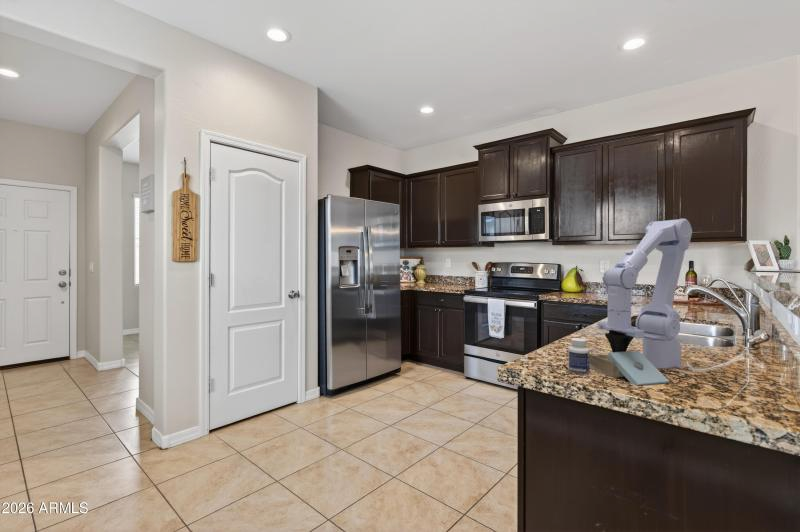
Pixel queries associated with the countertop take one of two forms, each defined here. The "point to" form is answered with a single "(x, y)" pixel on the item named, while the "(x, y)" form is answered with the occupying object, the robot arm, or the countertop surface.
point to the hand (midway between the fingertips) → (619, 359)
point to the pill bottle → (579, 356)
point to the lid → (637, 368)
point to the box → (604, 365)
